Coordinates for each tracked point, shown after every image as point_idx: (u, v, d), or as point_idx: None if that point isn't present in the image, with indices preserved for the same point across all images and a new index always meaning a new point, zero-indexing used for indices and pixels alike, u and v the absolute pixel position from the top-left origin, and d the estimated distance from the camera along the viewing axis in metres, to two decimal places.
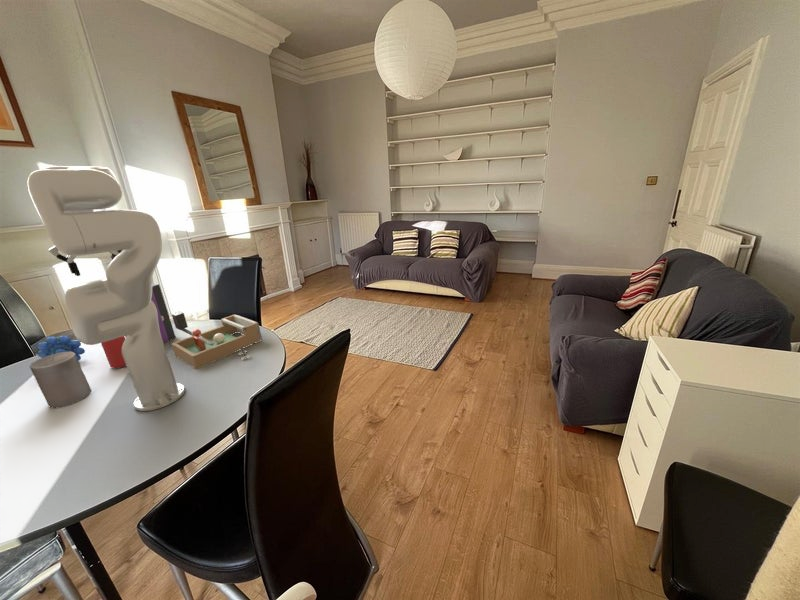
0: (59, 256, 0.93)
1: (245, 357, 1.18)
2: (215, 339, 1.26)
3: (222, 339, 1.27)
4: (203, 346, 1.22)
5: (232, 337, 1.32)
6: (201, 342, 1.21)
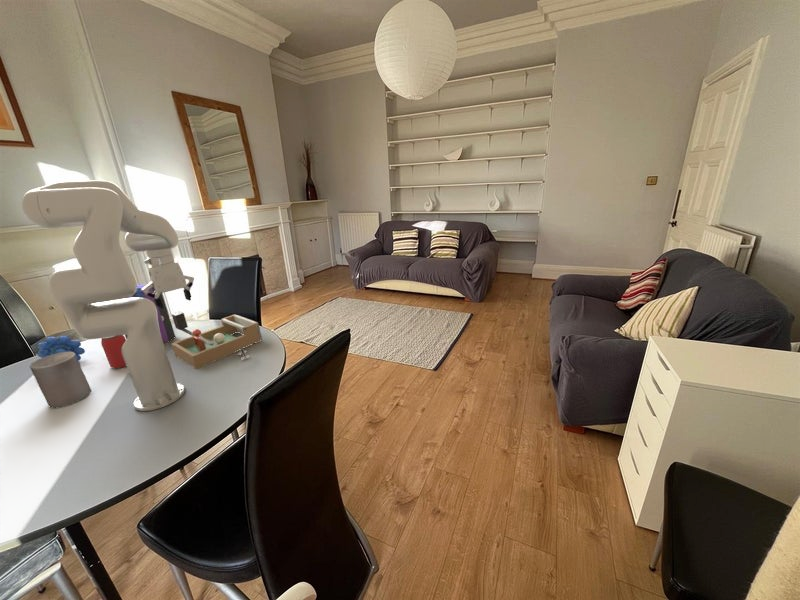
0: (149, 294, 1.18)
1: (245, 357, 1.18)
2: (215, 339, 1.26)
3: (222, 339, 1.27)
4: (203, 346, 1.22)
5: (232, 337, 1.32)
6: (201, 342, 1.21)
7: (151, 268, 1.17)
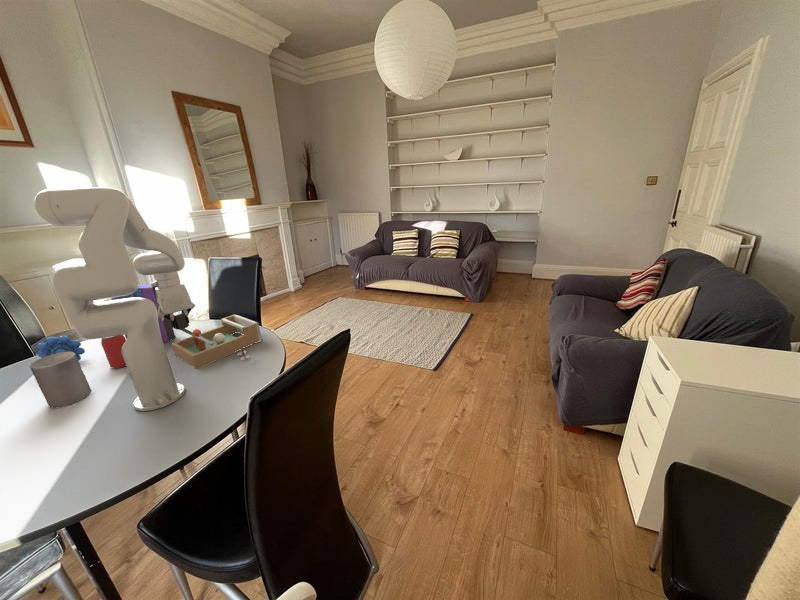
0: (166, 316, 1.23)
1: (244, 357, 1.18)
2: (215, 339, 1.26)
3: (222, 339, 1.27)
4: (203, 346, 1.22)
5: (232, 337, 1.32)
6: (201, 342, 1.21)
7: (158, 290, 1.19)
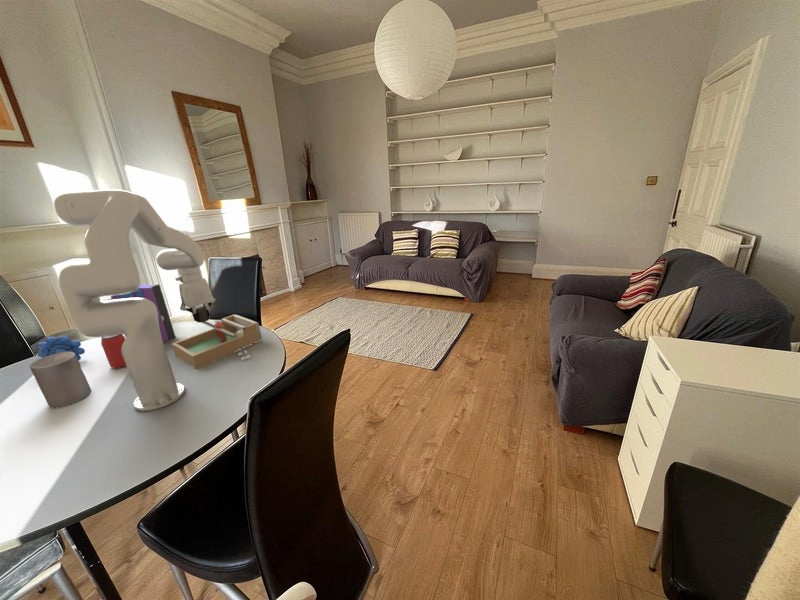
0: (188, 309, 1.29)
1: (245, 357, 1.18)
2: None
3: (243, 334, 1.33)
4: (224, 338, 1.28)
5: (232, 337, 1.32)
6: (223, 334, 1.27)
7: (182, 285, 1.25)
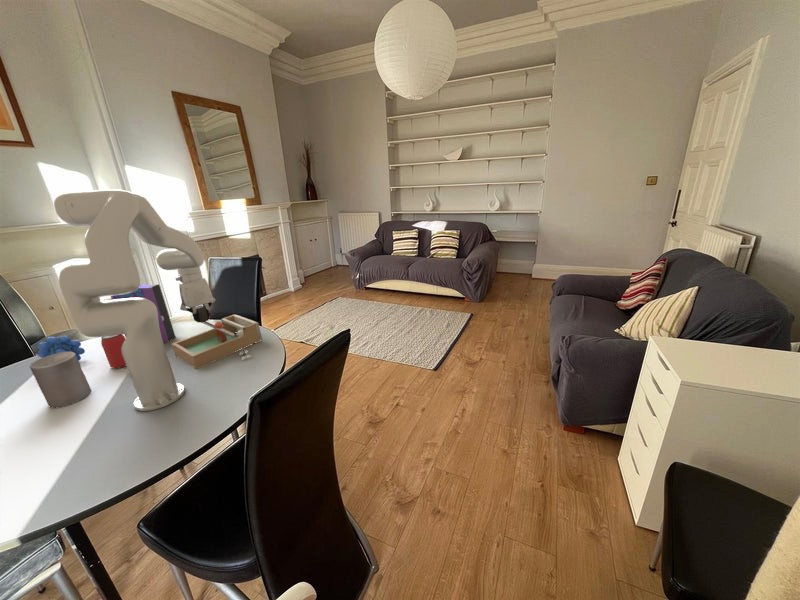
0: (188, 309, 1.29)
1: (245, 357, 1.18)
2: None
3: None
4: (224, 338, 1.28)
5: (232, 337, 1.32)
6: (223, 334, 1.27)
7: (182, 285, 1.25)
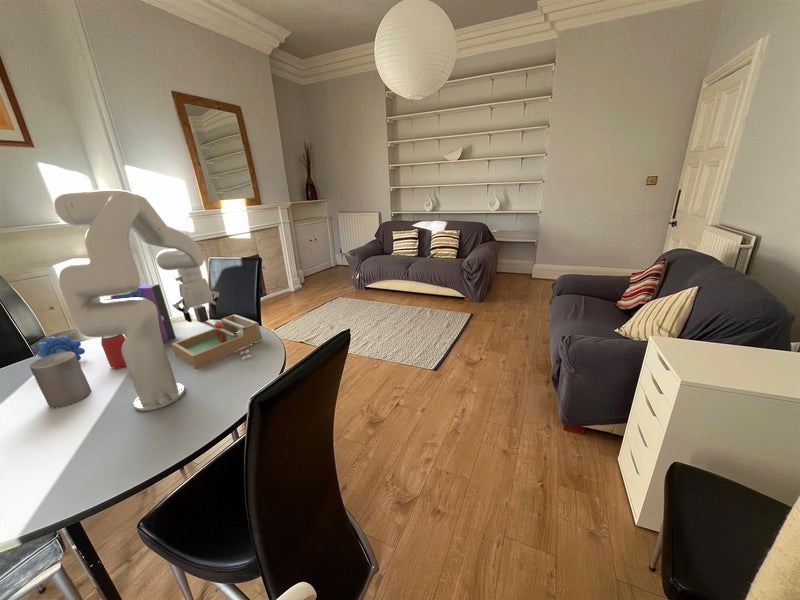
0: (179, 309, 1.26)
1: (246, 357, 1.19)
2: None
3: None
4: (224, 338, 1.28)
5: (232, 337, 1.32)
6: (223, 334, 1.27)
7: (182, 285, 1.25)
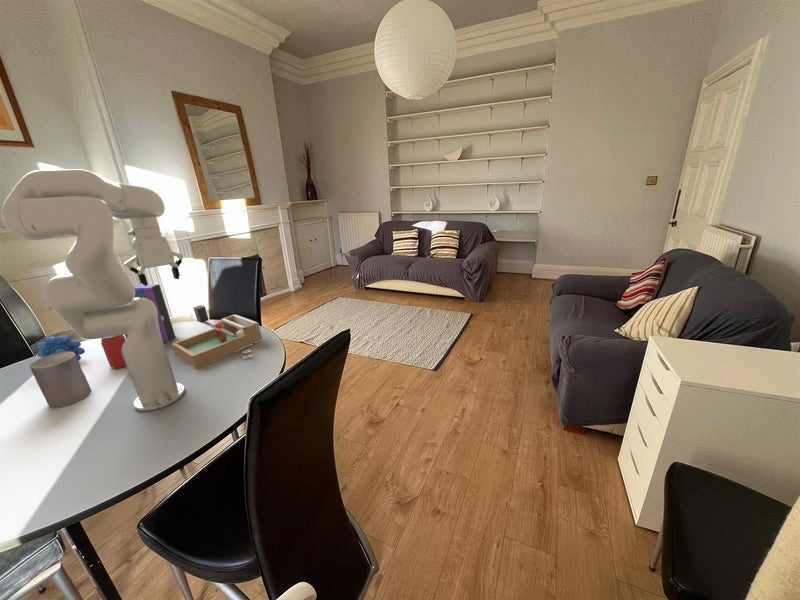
0: (132, 268, 1.09)
1: (247, 356, 1.19)
2: None
3: None
4: (224, 338, 1.28)
5: (232, 337, 1.32)
6: (223, 334, 1.27)
7: (135, 240, 1.08)
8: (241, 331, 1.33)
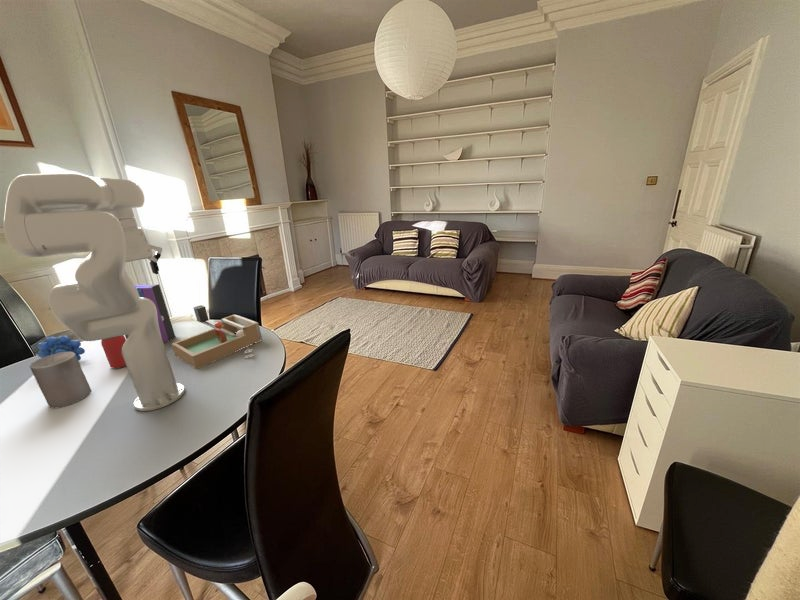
0: None
1: (249, 356, 1.19)
2: None
3: None
4: (224, 338, 1.28)
5: (232, 337, 1.32)
6: (223, 334, 1.27)
7: None
8: (241, 331, 1.33)
